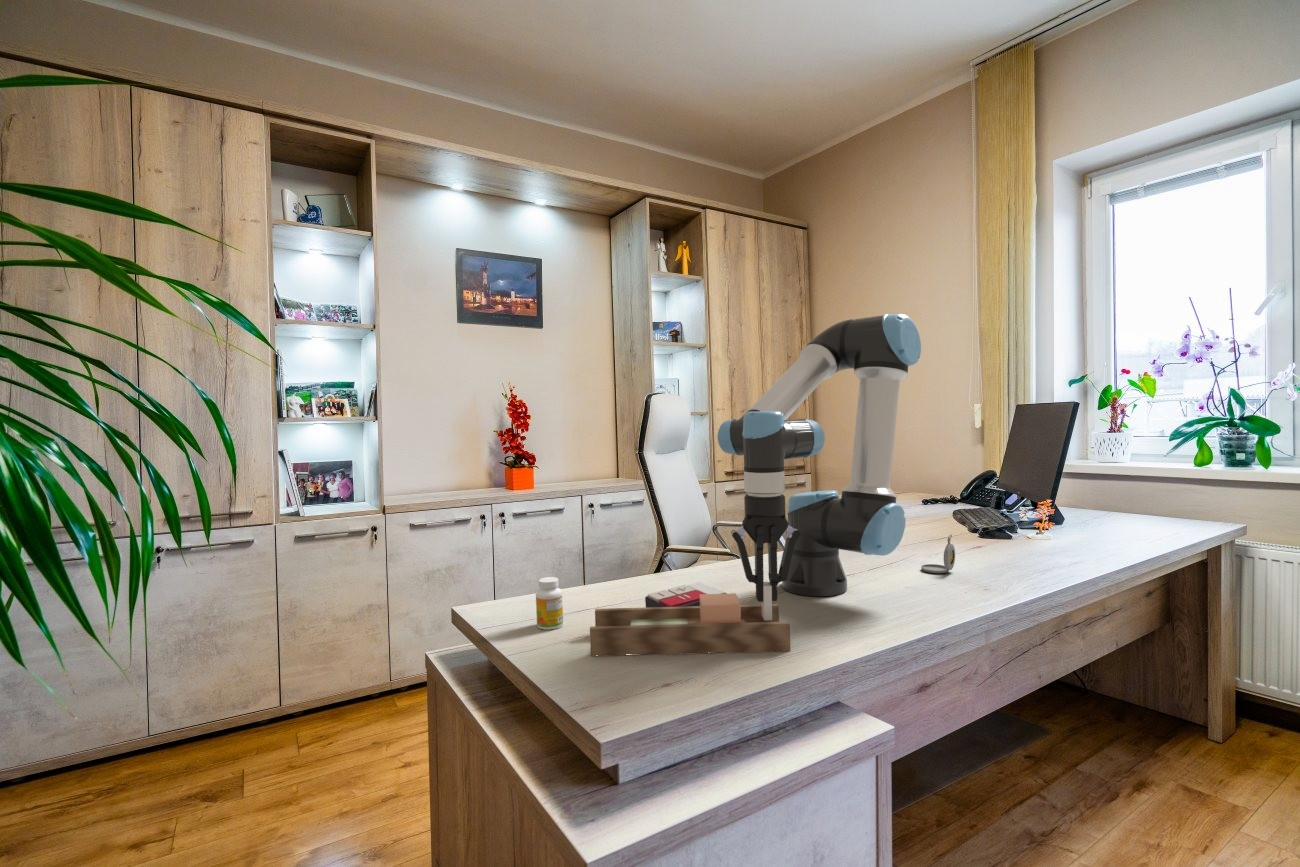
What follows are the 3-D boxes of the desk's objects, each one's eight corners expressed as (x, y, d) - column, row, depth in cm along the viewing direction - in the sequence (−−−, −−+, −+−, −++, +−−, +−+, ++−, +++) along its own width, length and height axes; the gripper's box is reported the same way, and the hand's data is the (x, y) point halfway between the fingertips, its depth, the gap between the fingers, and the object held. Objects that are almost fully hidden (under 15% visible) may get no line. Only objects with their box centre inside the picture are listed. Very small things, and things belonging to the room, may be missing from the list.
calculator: (643, 593, 143) (700, 579, 150) (645, 612, 143) (701, 597, 150) (669, 606, 133) (728, 590, 140) (670, 626, 133) (729, 609, 141)
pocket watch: (918, 567, 170) (917, 530, 169) (951, 568, 168) (951, 530, 168) (927, 576, 162) (926, 536, 161) (962, 576, 160) (962, 536, 160)
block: (736, 618, 125) (735, 593, 124) (741, 631, 118) (740, 604, 118) (700, 619, 125) (699, 594, 125) (702, 632, 118) (702, 605, 118)
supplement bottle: (534, 624, 134) (532, 578, 134) (559, 620, 136) (557, 574, 136) (540, 632, 129) (538, 584, 129) (566, 627, 131) (564, 580, 131)
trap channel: (778, 628, 127) (777, 604, 127) (790, 651, 116) (789, 623, 115) (596, 633, 127) (595, 608, 127) (590, 656, 116) (589, 628, 116)
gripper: (794, 490, 124) (797, 610, 125) (727, 491, 124) (730, 612, 125) (804, 495, 116) (806, 623, 117) (732, 497, 116) (734, 625, 117)
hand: (766, 617), depth 121 cm, fingers closed
